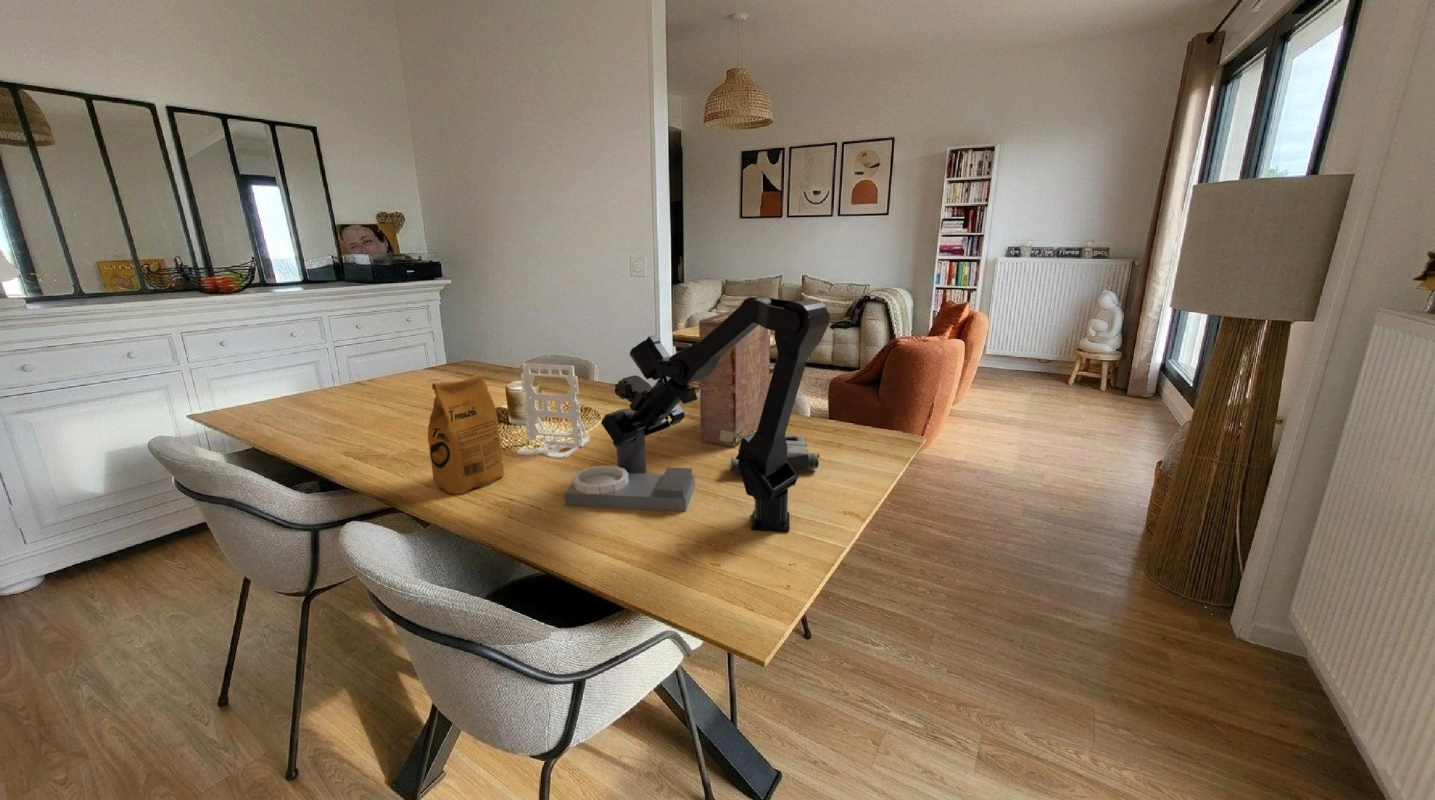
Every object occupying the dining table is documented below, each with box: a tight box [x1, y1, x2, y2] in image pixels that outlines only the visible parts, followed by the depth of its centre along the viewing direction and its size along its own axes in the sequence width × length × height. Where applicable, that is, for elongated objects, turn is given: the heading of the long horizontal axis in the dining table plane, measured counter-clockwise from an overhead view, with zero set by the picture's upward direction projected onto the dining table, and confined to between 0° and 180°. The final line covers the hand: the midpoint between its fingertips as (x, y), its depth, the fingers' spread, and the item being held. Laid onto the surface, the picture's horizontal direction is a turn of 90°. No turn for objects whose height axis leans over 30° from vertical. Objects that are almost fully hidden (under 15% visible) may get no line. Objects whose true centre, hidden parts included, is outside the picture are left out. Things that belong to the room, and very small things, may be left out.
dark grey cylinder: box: [614, 407, 647, 474], centre depth 118 cm, size 6×6×13 cm
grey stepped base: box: [563, 464, 696, 512], centre depth 110 cm, size 11×23×4 cm, turn 83°
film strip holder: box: [515, 363, 591, 459], centre depth 134 cm, size 14×14×20 cm
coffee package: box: [427, 372, 505, 496], centre depth 114 cm, size 10×12×22 cm
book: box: [698, 308, 771, 448], centre depth 144 cm, size 25×9×30 cm, turn 157°
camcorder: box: [730, 434, 820, 474], centre depth 126 cm, size 16×20×5 cm
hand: (625, 440), depth 118 cm, fingers closed on dark grey cylinder, 6 cm apart
